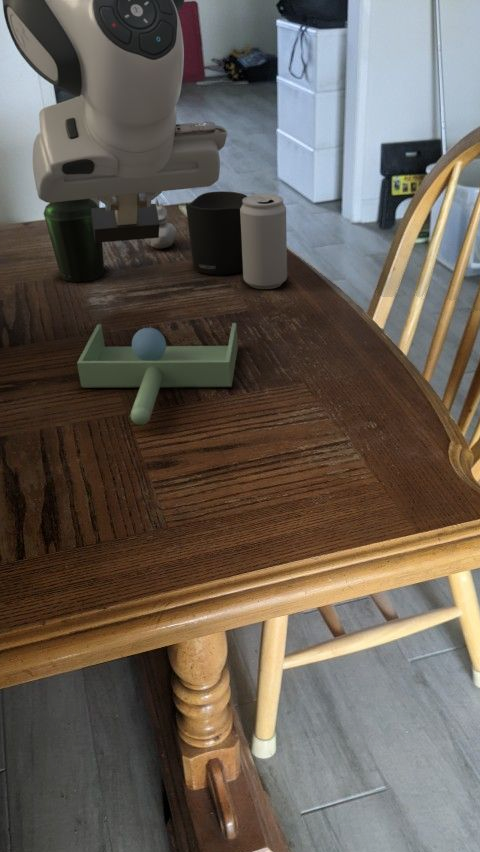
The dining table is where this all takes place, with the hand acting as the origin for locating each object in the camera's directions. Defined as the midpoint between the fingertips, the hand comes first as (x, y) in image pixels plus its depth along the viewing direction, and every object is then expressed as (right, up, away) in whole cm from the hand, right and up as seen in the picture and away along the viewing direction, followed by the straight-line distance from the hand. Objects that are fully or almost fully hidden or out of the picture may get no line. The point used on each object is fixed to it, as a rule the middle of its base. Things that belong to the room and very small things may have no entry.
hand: (126, 203), depth 92 cm
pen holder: (+9, 0, +28) cm, 30 cm away
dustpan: (+4, -22, -4) cm, 23 cm away
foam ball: (+4, -18, +1) cm, 18 cm away
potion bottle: (-12, -2, +26) cm, 29 cm away
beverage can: (+16, -4, +22) cm, 28 cm away
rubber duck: (-1, +6, +37) cm, 37 cm away
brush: (-2, -1, +7) cm, 7 cm away
